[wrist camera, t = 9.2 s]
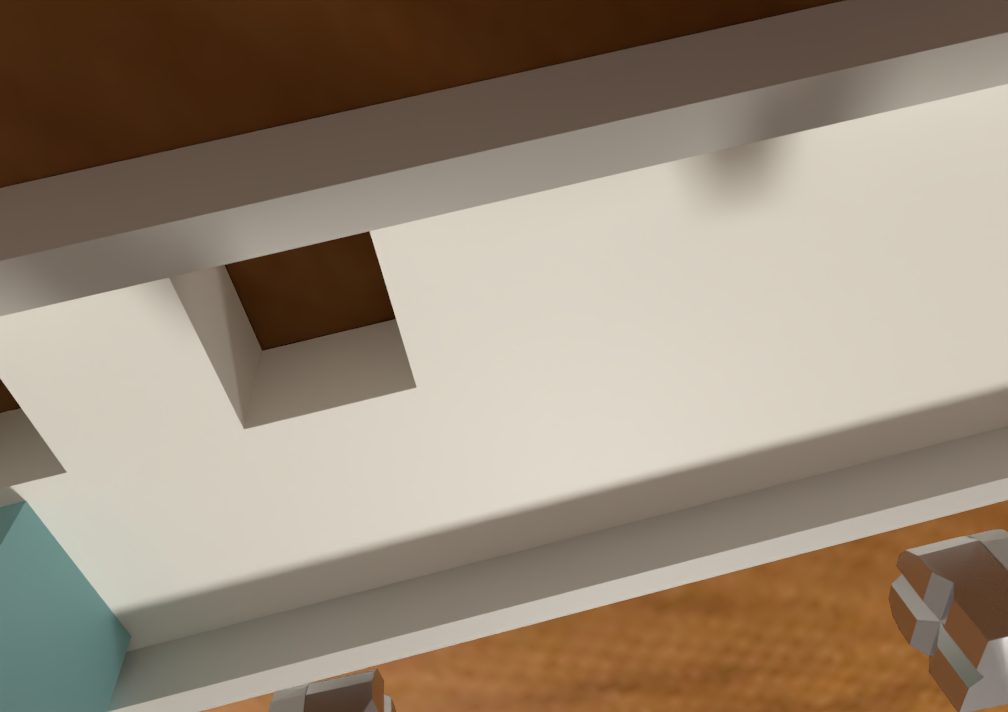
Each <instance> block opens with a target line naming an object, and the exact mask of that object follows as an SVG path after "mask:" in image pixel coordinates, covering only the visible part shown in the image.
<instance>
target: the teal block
mask: <svg viewBox="0 0 1008 712" xmlns="http://www.w3.org/2000/svg"><path fill="white" fill-rule="evenodd" d="M130 639H131V635H130V634H129V633H128V631H127V630H126V629H125V628H124V626H123V625H122V624H121V622H120V621H119V620H118V619H117V617H116V616H115V615H114V613H113V612H112V611H111V610H110V608H109V607H108V606H107V604H106V603H105V602H104V601H103V599H102V598H101V597H100V595H99V594H98V593H97V591H96V590H95V589H94V588H93V586H92V585H91V584H90V582H89V581H88V580H87V579H86V577H85V576H84V575H83V573H82V572H81V571H80V570H79V568H78V567H77V566H76V564H75V563H74V562H73V561H72V559H71V558H70V557H69V555H68V554H67V553H66V552H65V550H64V549H63V548H62V546H61V545H60V544H59V543H58V541H57V540H56V539H55V537H54V536H53V535H52V534H51V532H50V531H49V530H48V528H47V527H46V526H45V525H44V523H43V522H42V521H41V519H40V518H39V517H38V515H37V514H36V513H35V512H34V510H33V509H32V508H31V506H30V505H29V504H28V503H27V501H23V502H19V503H15V504H11V505H7V506H3V507H0V712H107V711H108V708H109V704H110V701H111V698H112V695H113V692H114V689H115V686H116V683H117V680H118V676H119V673H120V670H121V667H122V664H123V661H124V658H125V655H126V651H127V648H128V645H129V642H130Z"/></svg>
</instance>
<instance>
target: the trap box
mask: <svg viewBox="0 0 1008 712" xmlns="http://www.w3.org/2000/svg"><path fill="white" fill-rule="evenodd" d="M368 231H370V234H371V238H372V241H373V244H374V247H375V251H376V254H377V257H378V261H379V264H380V267H381V271H382V274H383V277H384V281H385V284H386V287H387V291H388V294H389V297H390V301H391V304H392V307H393V310H394V314H395V317H396V319H394V320H390V321H385V322H381V323H377V324H373V325H369V326H364V327H360V328H356V329H352V330H348V331H343V332H339V333H335V334H331V335H327V336H322V337H318V338H314V339H310V340H306V341H301V342H297V343H293V344H289V345H284V346H280V347H276V348H272V349H268V350H263V351H262V349H261V347H260V345H259V342H258V340H257V338H256V336H255V333H254V331H253V329H252V326H251V324H250V322H249V320H248V317H247V315H246V313H245V310H244V308H243V306H242V304H241V301H240V299H239V297H238V295H237V292H236V290H235V288H234V285H233V283H232V281H231V279H230V276H229V274H228V272H227V270H226V267H225V265H226V264H230V263H234V262H239V261H243V260H247V259H251V258H256V257H260V256H264V255H269V254H273V253H277V252H282V251H286V250H290V249H295V248H299V247H303V246H308V245H312V244H316V243H321V242H325V241H329V240H334V239H338V238H342V237H347V236H351V235H355V234H360V233H364V232H368ZM0 379H1V380H2V382H3V383H4V384H5V386H6V387H7V389H8V390H9V391H10V393H11V394H12V396H13V397H14V398H15V400H16V401H17V403H18V404H19V406H20V407H21V408H19V409H15V410H11V411H7V412H2V413H0V507H3V506H7V505H11V504H15V503H19V502H23V501H27V503H28V504H29V505H30V506H31V508H32V509H33V510H34V512H35V513H36V514H37V515H38V517H39V518H40V519H41V521H42V522H43V523H44V525H45V526H46V527H47V528H48V530H49V531H50V532H51V534H52V535H53V536H54V537H55V539H56V540H57V541H58V543H59V544H60V545H61V546H62V548H63V549H64V550H65V552H66V553H67V554H68V555H69V557H70V558H71V559H72V561H73V562H74V563H75V564H76V566H77V567H78V568H79V570H80V571H81V572H82V573H83V575H84V576H85V577H86V579H87V580H88V581H89V582H90V584H91V585H92V586H93V588H94V589H95V590H96V591H97V593H98V594H99V595H100V597H101V598H102V599H103V601H104V602H105V603H106V604H107V606H108V607H109V608H110V610H111V611H112V612H113V613H114V615H115V616H116V617H117V619H118V620H119V621H120V622H121V624H122V625H123V626H124V628H125V629H126V630H127V631H128V633H129V634H130V635H131V639H130V642H129V645H128V648H127V651H126V655H125V658H124V661H123V664H122V667H121V670H120V673H119V676H118V680H117V683H116V686H115V689H114V692H113V695H112V698H111V701H110V704H109V708H108V711H107V712H199V711H203V710H207V709H210V708H214V707H218V706H222V705H226V704H230V703H233V702H237V701H241V700H245V699H249V698H252V697H256V696H260V695H264V694H268V693H272V692H275V691H278V690H282V689H287V688H291V687H294V686H298V685H302V684H306V683H310V682H314V681H317V680H321V679H325V678H329V677H333V676H336V675H340V674H344V673H348V672H352V671H356V670H359V669H363V668H367V667H371V666H375V665H378V664H382V663H386V662H390V661H394V660H398V659H401V658H405V657H409V656H413V655H417V654H420V653H424V652H428V651H432V650H436V649H440V648H443V647H447V646H451V645H455V644H459V643H463V642H466V641H470V640H474V639H478V638H482V637H485V636H489V635H493V634H497V633H501V632H505V631H508V630H512V629H516V628H520V627H524V626H527V625H531V624H535V623H539V622H543V621H547V620H550V619H554V618H558V617H562V616H566V615H569V614H573V613H577V612H581V611H585V610H589V609H592V608H596V607H600V606H604V605H608V604H611V603H615V602H619V601H623V600H627V599H631V598H634V597H638V596H642V595H646V594H650V593H654V592H657V591H661V590H665V589H669V588H673V587H676V586H680V585H684V584H688V583H692V582H696V581H699V580H703V579H707V578H711V577H715V576H718V575H722V574H726V573H730V572H734V571H738V570H741V569H745V568H749V567H753V566H757V565H760V564H764V563H768V562H772V561H776V560H780V559H783V558H787V557H791V556H795V555H799V554H802V553H806V552H810V551H814V550H818V549H822V548H825V547H829V546H833V545H837V544H841V543H844V542H848V541H852V540H856V539H860V538H864V537H867V536H871V535H875V534H879V533H883V532H887V531H890V530H894V529H898V528H902V527H906V526H909V525H913V524H917V523H921V522H925V521H929V520H932V519H936V518H940V517H944V516H948V515H951V514H955V513H959V512H963V511H967V510H971V509H974V508H978V507H982V506H986V505H990V504H993V503H997V502H1001V501H1005V500H1008V0H845V1H840V2H836V3H831V4H827V5H822V6H818V7H813V8H809V9H804V10H800V11H795V12H791V13H786V14H782V15H777V16H773V17H768V18H764V19H759V20H755V21H750V22H746V23H741V24H737V25H732V26H728V27H723V28H719V29H714V30H710V31H705V32H701V33H696V34H692V35H687V36H683V37H678V38H674V39H669V40H665V41H660V42H656V43H651V44H647V45H642V46H638V47H633V48H629V49H624V50H620V51H615V52H611V53H606V54H602V55H597V56H593V57H588V58H584V59H579V60H575V61H570V62H566V63H561V64H557V65H552V66H548V67H543V68H539V69H534V70H530V71H525V72H521V73H516V74H512V75H507V76H503V77H498V78H494V79H489V80H485V81H480V82H476V83H471V84H467V85H462V86H458V87H453V88H449V89H444V90H440V91H435V92H431V93H426V94H422V95H417V96H412V97H408V98H403V99H399V100H394V101H390V102H385V103H381V104H376V105H372V106H367V107H363V108H358V109H354V110H349V111H345V112H340V113H336V114H331V115H327V116H322V117H318V118H313V119H309V120H304V121H300V122H295V123H291V124H286V125H282V126H277V127H273V128H268V129H264V130H259V131H255V132H250V133H246V134H241V135H237V136H232V137H228V138H223V139H219V140H214V141H210V142H205V143H201V144H196V145H192V146H187V147H183V148H178V149H174V150H169V151H165V152H160V153H156V154H151V155H147V156H142V157H138V158H133V159H129V160H124V161H120V162H115V163H111V164H106V165H102V166H97V167H93V168H88V169H84V170H79V171H75V172H70V173H66V174H61V175H57V176H52V177H48V178H43V179H39V180H34V181H30V182H25V183H21V184H16V185H12V186H7V187H3V188H0Z"/></svg>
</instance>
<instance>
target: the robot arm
mask: <svg viewBox="0 0 1008 712" xmlns="http://www.w3.org/2000/svg"><path fill="white" fill-rule="evenodd" d="M896 566H897V568H898V569H899V570H900V572H901V573H902V575H901V576H900V577H899V578H898V579H896V580H895V581H894V582H893V583H892V584H891V589H890V594H889V603H890V607H891V611H892V616H893V618H894V620H895V622H896V624H897V626H898V628H899V630H900V632H901V633H902V635H903V636H904V637H905V639H906V640H907V642H908V643H909V645H910V646H912V647H914V648H916V649H917V650H919V651H921V652H923V653H924V654H926V655H928V656H929V673H930V674H931V676H932V677H933V678H934V680H935V681H936V683H937V684H938V685H939V687H940V688H941V690H942V691H943V692H944V694H945V695H946V697H947V698H948V699H949V701H950V702H951V703H952V705H953V706H954V708H955V709H956V710H957V712H970V711H974V710H979V709H984V708H989V707H994V706H999V705H1004V704H1008V532H1006V531H1005V530H1003V529H999V530H990V531H986V532H982V533H978V534H974V535H969V536H962V537H957V538H953V539H949V540H945V541H941V542H937V543H933V544H929V545H925V546H921V547H916V548H912V549H908V550H905V551H904V552H903V553H901V554H900V555H899V557H898V561H897V565H896ZM269 712H396V709H395V706H394V704H393V701H392V699H391V697H389V696H386V695H384V680H383V678H382V676H381V674H380V672H379V670H378V669H376V670H371V671H366V672H362V673H357V674H353V675H348V676H343V677H339V678H334V679H330V680H325V681H320V682H316V683H308V684H304V685H300V686H295V687H291V688H287V689H282V690H278V691H275V694H274V696H273V698H272V701H271V703H270V708H269Z"/></svg>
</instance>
